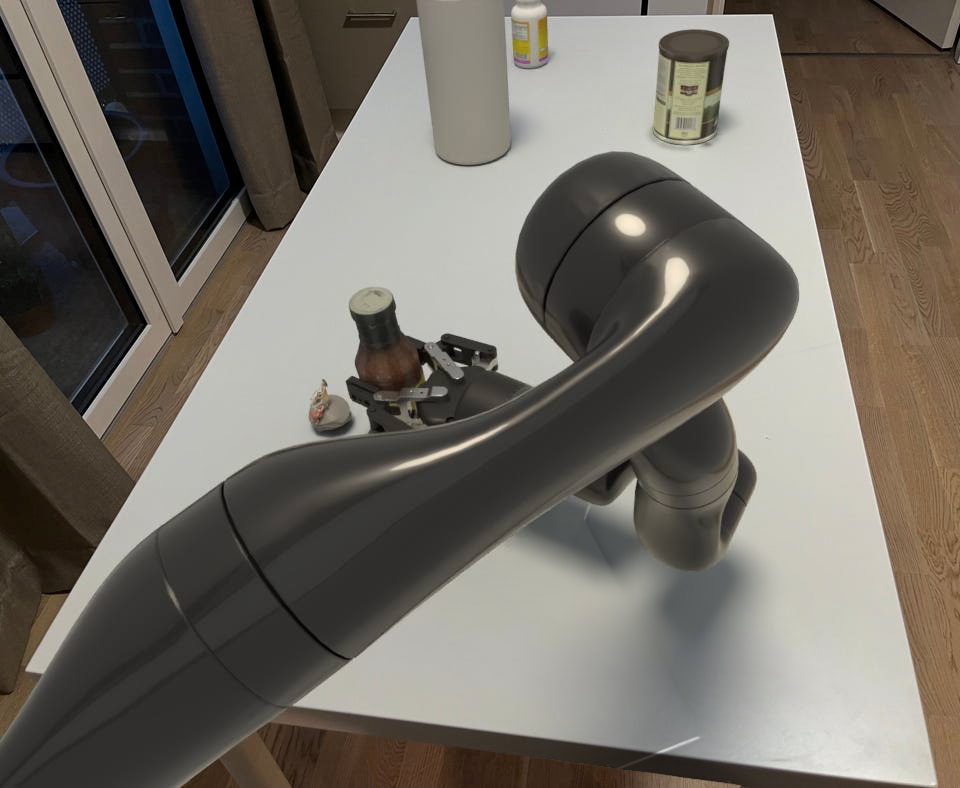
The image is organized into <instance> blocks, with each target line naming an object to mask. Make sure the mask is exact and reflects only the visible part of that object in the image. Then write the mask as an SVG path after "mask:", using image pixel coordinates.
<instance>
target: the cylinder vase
mask: <svg viewBox="0 0 960 788" xmlns="http://www.w3.org/2000/svg"><path fill="white" fill-rule="evenodd" d="M415 2H416V9H417V16H418V17H417V18H418V25H419V32H420V41H421V49H422V56H423V57H422V58H423V65H424V73H425V81H426V89H427V97H428V104H429V112H430V113H429V114H430V121H431V129H432V136H433V144H434V150H435V153H436V154H437V155H438V156H439V157H440V159H442V160H444V161H446V162H449V163H450V164H455V165H460V166H462V165H463V166H475V165H482V164H487V163H489V162H490V163H491V162H492V161H494V160H497V159H499V158H501V157H502V156H503V155H505V153H506V152H508V150H509V148H510V146H511V145H512V134H511V132H512V131H511V116H510V115H511V112H510V94H509V75H508V74H509V73H508V56H507V38H506V37H507V35H506V17H505V16H506V15H505V0H416V1H415Z"/></svg>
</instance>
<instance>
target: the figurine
mask: <svg viewBox="0 0 960 788" xmlns="http://www.w3.org/2000/svg"><path fill="white" fill-rule="evenodd" d="M320 382H321V383H320V387H318V388H317V389H315V391H314V393H313V394H312V395H311V397H310V398H309V400H310V401H309V406H310V407H309V410H308V420H309V422H310V425H311V426H312V427H313V428H314V429H315V430H316V431H317V432H324V431H333V430H336V429H338V428H340V427H343V426H344V425H345V424H346V423H348V422H350V421H351V420H352V418H353V414H352V411H351V408H350V405H349V403H348V401H347V400H346V399H345V398H344V397H342V396H340V395H337V394H328V391H327V389H328V387H329V384H328V383H327V381H326V379H325V378H321V381H320ZM320 389H321V391H320Z"/></svg>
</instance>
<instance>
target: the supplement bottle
mask: <svg viewBox="0 0 960 788" xmlns="http://www.w3.org/2000/svg"><path fill="white" fill-rule="evenodd" d="M515 2H516V4H515V5H514V6H513V7H512V8H511V11H510V20H511V37H512V39H511V40H512V56H513V57H512V58H513V63H514V64H515V65H516V66H517V67H519V68H522V69H535V68H539V67H542V66H544V65H545V64H546V63H547V62H548V61H549V38H548V37H549V36H548V33H549V32H548V8H547V7H546V5H545V4H543V2H541V0H515Z"/></svg>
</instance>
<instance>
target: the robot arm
mask: <svg viewBox="0 0 960 788" xmlns="http://www.w3.org/2000/svg"><path fill="white" fill-rule="evenodd" d="M514 255H515V256H514V272H515V278H516V283H517V287H518V291H519V293H520V295H521V298H522V300H523V302H524V304H525V306H526V307H527V309H528V311H529V312H530V314H531V316H532V317H533V318H534V320H535V321H536V323H537V324H538V325H539V326H540V328H541V329H542V330H543V331H544V333H545V334H546V335H547V336H548V337H549V338H550V339H551V340H552V341H553V342H554V343H555V344H556V345H557V346H558V348H559V349H560V350H561V351H562V352H563V353H564V354H565V355H566V356H567V357H568V358H569V359H570V360H571V361H572V363H571V364H570V365H568V366H566V367H565V368H563V369H562V370H561V371H559V372H557V373H556V374H554V375H552V376H551V377H549V378H548V379H546V380H544V381H542V382H541V383H538V384H537V385H535V386H533V385H531V384H529V383H526V382H523V381H522V380H518V379H516V378H513V377H511V376H509V375H506V374H503V373H501V372H497V371H498V370H499V361H498V349H497V346H495V345H491V344H489V343H485V342H481V341H477V340H474V339H471V338H468V337H464V336H460V335H456V334H452V333H449V332H448V333H443V334H442V335H441V336H440V339H439V340H437V341H436V342H435V341H428V342H425V341H422V340H420V339H418V338H416V337H412V336H411V335H407V334H404V335H405V336H406V337H407V338H408V339H409V340H410V341H411V342H412V343H413V344H415V346H416V347H417V352H418V356H419V361H420V364H421V365H422V367H424V366H425V365H426V364H427V368H428V369H429V370H430V372H431V373H430V374H429V376H428V378H427V380H426V381H425V382H424V383H422V384H421V385H419V387H418V388H401V389H400V391H381V390H380V388H379V387H377V386H375V385H372V384H370V383H368V382H365V381H363V380H361V379H359V377H357V376H354V375H350V376H349V377H348V378H347V379H346V380H345V385H346V388H347V389H346V390H347V393H348V396H349V399H350V400H351V401H352V402H353V403H356V404H358V405H360V406H362V407H364V408H366V411H365V412H366V416H367V417H368V421H369V425H370V426H369V427H370V428H369V429H371V431H372V432H373V433H371V434H368V433H362V434H355V435H345V436H338V437H332V438H326V439H318V440H314V441H313V440H312V441H308V442H303V443H298V444H294V445H291V446H290V445H289V446H287V447H283V448H281V449H277V450H274V451H272V452H269V453H267V454H263V455H262V456H260V457H258V458H256V459H254V460H252V461H250V462H249V463H247V464H246V465H245V466H243V467H241V468H240V469H239V470H237V471H235V472H234V473H232V474H230V475H229V476H228V477H226V479H225V480H222V481H221V482H220V483H218V484H217V485H216V486H214V487H213V488H211V489H210V490H208V491H207V492H205V494H202V495H201V496H200V497H199V498H197V499H196V500H195V501H193V502H192V503H191V504H189V505H187V506H186V507H185V508H183V509H182V510H181V511H179V512H177V514H176V515H174V516H172V517H171V518H170V519H169V520H167V521H166V522H164V523H163V524H161V525H160V526H159V527H157V528H156V529H155V530H154V531H152V532H151V533H150V534H148V535H147V536H146V537H145V538H144V539H142V540H141V541H140V542H139V543H137V544H136V546H135V547H133V548H132V549H131V550H130V551H129V552H128V553H127V554H126V555H125V556H124V557H123V558H122V560H120V561H119V563H117V565H116V566H115V567H114V568H113V569H112V571H111V572H110V573H109V574H108V575H107V577H106V578H105V579H104V581H103V582H102V583H101V584H100V586H99V587H98V588H97V589H96V591H95V592H94V594H92V597H91V598H90V600H89V601H88V602H87V604H86V605H85V607H84V608H83V610H82V611H81V613H80V614H79V616H78V618H77V619H76V620H75V622H74V623H73V625H72V627H71V628H70V629H69V631H68V633H67V635H66V636H65V638H64V639H63V641H62V643H61V644H60V645H59V647H58V649H57V651H56V652H55V654H54V656H53V657H52V658H51V660H50V661H49V663H48V665H47V667H46V669H44V672H43V673H42V675H41V677H40V678H39V680H38V681H37V683H36V684H35V686H34V688H33V689H32V691H31V692H30V694H29V696H28V697H27V699H26V700H25V702H24V704H23V705H22V707H21V708H20V709H19V711H18V713H17V715H16V716H15V718H14V719H13V721H12V722H11V724H10V725H9V727H8V728H7V729H6V731H5V733H4V734H3V736H2V737H1V739H0V788H181V787H183V786H184V785H186V784H187V783H188V782H189V781H190V780H191V779H193V778H194V777H195V776H197V775H198V774H199V773H201V772H202V771H204V770H205V769H206V768H208V767H209V766H210V765H212V764H213V763H214V762H215V761H217V760H218V759H219V758H221V757H222V756H223V755H225V754H226V753H227V752H229V751H231V749H233V748H234V747H236V746H237V745H238V744H240V743H241V742H243V741H244V740H246V739H247V738H249V736H251V735H252V734H254V733H255V732H256V731H259V730H260V729H261V728H262V727H264V726H265V725H267V724H268V723H270V722H271V721H273V720H274V719H276V718H277V717H278V716H280V715H281V714H283V713H284V712H285V711H287V710H289V709H290V708H291V707H293V706H294V705H295V704H297V703H298V702H299V701H301V700H302V699H304V698H305V697H306V696H307V695H308V694H310V693H311V692H312V691H313V690H315V689H316V688H317V687H319V686H320V685H322V684H323V683H324V682H326V681H327V680H328V679H330V678H331V677H332V676H333V675H335V674H337V672H339V671H340V670H341V669H343V668H344V667H346V666H347V665H348V664H349V663H350V662H352V661H353V660H354V659H356V658H357V657H358V656H360V655H362V653H364V652H365V651H366V650H367V649H368V648H370V647H371V646H372V645H373V644H375V643H376V642H377V641H378V640H380V639H381V638H382V637H383V636H385V635H386V634H387V633H388V632H390V631H391V630H392V629H393V628H394V627H395V626H397V625H398V624H399V623H400V622H402V621H403V620H404V619H405V618H407V617H408V616H410V614H412V613H413V612H414V611H415V610H416V609H418V608H419V607H420V606H422V605H423V604H424V603H425V602H427V601H428V600H429V599H430V598H432V597H433V596H435V594H438V592H440V590H442V589H443V588H445V587H446V586H447V585H448V584H450V583H451V582H453V581H454V580H455V579H456V578H458V577H459V576H460V575H461V574H463V573H464V572H465V571H467V570H468V569H469V568H471V567H473V565H475V564H476V563H477V562H478V561H480V560H481V559H482V558H484V557H486V556H487V555H488V554H489V553H491V552H492V551H493V550H495V549H497V548H498V546H500V545H502V544H503V543H505V541H507V540H509V539H510V538H511V537H512V536H514V535H516V534H517V532H519V531H521V530H522V529H524V528H525V527H527V526H528V525H530V524H531V523H533V522H534V521H535V520H537V519H538V518H540V517H541V516H543V515H544V514H546V513H547V512H549V511H550V510H552V509H553V508H555V507H556V506H558V505H559V504H561V503H563V502H564V501H565V500H567V499H569V498H570V497H572V496H573V497H576V498H577V499H580V500H582V501H584V502H587V503H589V504H592V505H595V506H599V507H605V506H608V505H611V504H612V503H613V502H615V501H616V500H617V499H618V498H619V497H620V496H621V495H622V494H623V492H625V490H626V489H627V488H628V487H629V486H630V484H631V483H632V482H633V481H634V480H635V479H636V483H635V489H634V497H633V511H632V519H633V525H634V531H635V532H636V535H637V537H638V539H639V541H640V543H641V544H642V545H643V547H645V549H646V551H647V552H649V554H650V555H651V556H652V557H654V558H655V559H656V560H657V561H659V562H660V563H662V564H663V565H665V566H666V567H667V566H668V567H670V568H671V569H675V570H677V571H680V572H687V573H697V572H703V571H707V570H709V569H712V568H713V567H714V566H715V565H717V564H718V563H719V562H720V561H721V560H722V559H723V558H724V556H725V554H726V552H727V551H728V548H729V546H730V544H731V542H732V539H733V537H734V535H735V533H736V530H737V528H738V527H739V524H740V522H741V520H742V518H743V516H744V513H745V511H746V508H747V507H748V505H749V503H750V501H751V498H752V496H753V495H754V491H755V490H756V486H757V482H758V473H757V470H756V467H755V465H754V463H753V462H752V460H751V459H750V458H749V456H748V455H746V453H745V452H743V450H741V449H739V448H738V441H737V432H736V428H735V424H734V421H733V418H732V414H731V412H730V409H729V407H728V405H727V403H726V401H725V399H724V396H726V394H728V393H729V392H731V390H733V389H734V388H735V387H736V386H737V385H739V384H740V383H742V381H744V380H745V378H747V377H749V375H750V374H751V373H752V372H753V371H755V369H756V368H758V366H759V365H761V363H762V362H763V361H764V360H765V359H766V358H767V357H768V356H769V355H770V354H771V352H772V351H773V350H774V349H775V348H776V347H777V345H779V343H780V342H781V340H782V339H783V337H784V335H785V333H786V332H787V331H788V329H789V327H790V326H791V324H792V322H793V320H794V318H795V316H796V313H797V310H798V306H799V302H800V283H799V280H798V277H797V275H796V272H795V271H794V269H793V267H792V266H791V264H790V263H789V262H788V261H787V260H786V259H785V258H784V257H783V256H782V255H781V254H780V253H779V251H777V250H776V248H774V247H773V246H772V245H771V244H770V243H768V241H766V240H765V239H763V238H762V237H761V236H760V235H759V234H758V233H756V232H755V231H754V230H752V229H751V228H750V227H748V226H747V225H746V224H745V223H743V222H742V221H741V220H739V219H738V218H737V217H736V216H734V215H733V214H732V213H730V212H729V211H728V210H726V209H725V208H724V207H723V206H721V205H719V204H718V203H717V202H716V201H715V200H713V199H712V198H710V196H708V195H707V194H705V193H704V192H703V191H701V190H700V189H699V188H697V187H696V186H694V185H693V184H692V183H691V182H689V181H688V180H687V179H685V178H683V176H680V175H679V174H677V173H676V172H675V171H673V170H672V169H670V168H668V167H667V166H665V165H663V164H662V163H660V162H658V161H656V160H655V159H652V158H651V157H647V156H644V155H641V154H638V153H635V152H632V151H617V150H616V151H615V150H613V151H607V152H602V153H597V154H594V155H592V156H589V157H588V158H584V159H583V160H581V161H578V162H576V163H575V164H574V165H572V166H571V167H569V168H568V169H566V170H565V171H563V172H562V173H561V174H559V175H558V176H556V178H555V179H554V180H553V181H552V182H550V184H549V185H548V186H547V187H546V188H545V189H544V190H543V192H542V193H541V194H540V195H539V196H538V198H537V199H536V201H535V202H534V204H533V205H532V207H531V208H530V210H529V212H528V213H527V215H526V217H525V219H524V222H523V224H522V227H521V230H520V232H519V234H518V237H517V243H516V248H515V253H514ZM456 363H457V364H461V365H463V366H458V365H457V364H456ZM410 401H415V403H416V408H417V410H415V409H413V408H412V407H411V402H410ZM389 404H397V405H399V406H390V405H389ZM399 419H401V420H402V421H401V420H399ZM404 422H405V423H404ZM406 423H407V424H406ZM412 423H423V425H420V426H417V425H414V424H412Z"/></svg>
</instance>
